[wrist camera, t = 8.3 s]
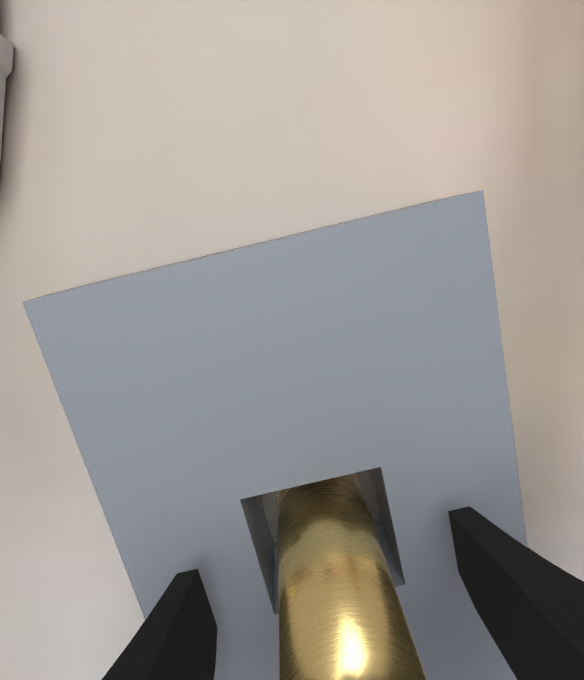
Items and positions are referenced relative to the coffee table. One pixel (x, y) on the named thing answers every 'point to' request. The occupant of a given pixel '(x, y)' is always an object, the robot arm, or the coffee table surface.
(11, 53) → the walkie-talkie
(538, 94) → the coffee table surface
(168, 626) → the robot arm
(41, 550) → the coffee table surface
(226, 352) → the grey flat block
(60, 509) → the coffee table surface
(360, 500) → the tall pin
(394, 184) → the coffee table surface
